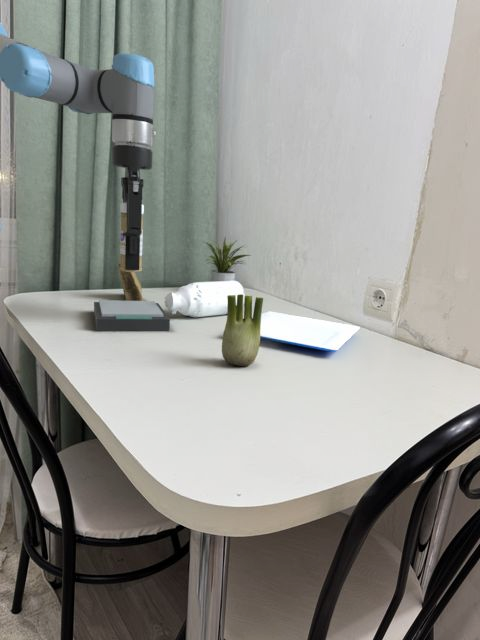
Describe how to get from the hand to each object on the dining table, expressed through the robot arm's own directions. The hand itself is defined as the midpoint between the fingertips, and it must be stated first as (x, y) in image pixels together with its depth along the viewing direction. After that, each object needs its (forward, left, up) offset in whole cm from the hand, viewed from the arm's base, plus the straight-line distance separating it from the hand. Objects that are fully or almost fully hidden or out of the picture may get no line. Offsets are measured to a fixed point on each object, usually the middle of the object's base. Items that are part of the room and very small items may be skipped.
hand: (131, 267), depth 104 cm
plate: (+13, +33, -12) cm, 37 cm away
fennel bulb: (+30, +15, -12) cm, 35 cm away
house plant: (-35, +29, -12) cm, 47 cm away
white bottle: (-5, +18, -12) cm, 22 cm away
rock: (-24, +3, -12) cm, 27 cm away
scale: (0, 0, -11) cm, 11 cm away
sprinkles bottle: (0, 0, -1) cm, 1 cm away
